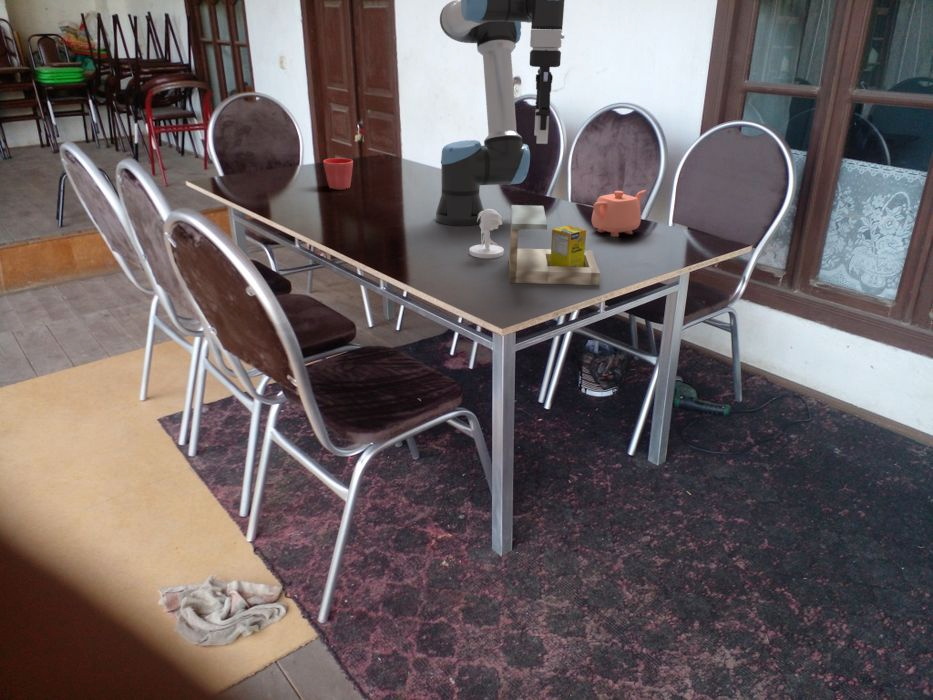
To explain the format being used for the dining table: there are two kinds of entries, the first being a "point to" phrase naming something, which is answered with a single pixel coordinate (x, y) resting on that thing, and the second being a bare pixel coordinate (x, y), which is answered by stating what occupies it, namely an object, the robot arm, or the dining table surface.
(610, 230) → the teapot
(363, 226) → the dining table surface
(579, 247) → the supplement box
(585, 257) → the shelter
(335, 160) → the flower pot
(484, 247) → the figurine
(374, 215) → the dining table surface
